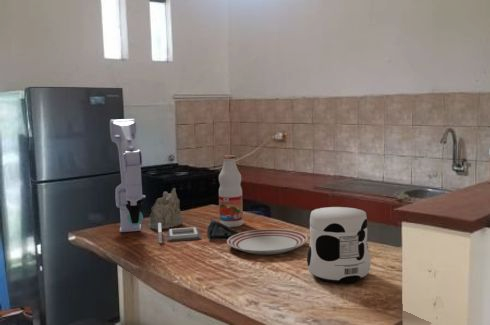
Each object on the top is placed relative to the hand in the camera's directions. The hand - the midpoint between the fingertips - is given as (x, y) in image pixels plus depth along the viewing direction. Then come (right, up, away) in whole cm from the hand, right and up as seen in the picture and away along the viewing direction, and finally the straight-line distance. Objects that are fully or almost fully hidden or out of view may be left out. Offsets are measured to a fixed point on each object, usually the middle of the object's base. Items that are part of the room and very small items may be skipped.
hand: (135, 221), depth 178 cm
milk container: (+66, -11, -41) cm, 78 cm away
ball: (0, +1, 0) cm, 1 cm away
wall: (+8, -7, +3) cm, 11 cm away
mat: (+17, -6, +5) cm, 18 cm away
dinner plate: (+47, -8, -11) cm, 49 cm away
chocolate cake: (+32, -7, +2) cm, 33 cm away
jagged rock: (+6, -4, +25) cm, 26 cm away
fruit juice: (+34, -4, +20) cm, 40 cm away
